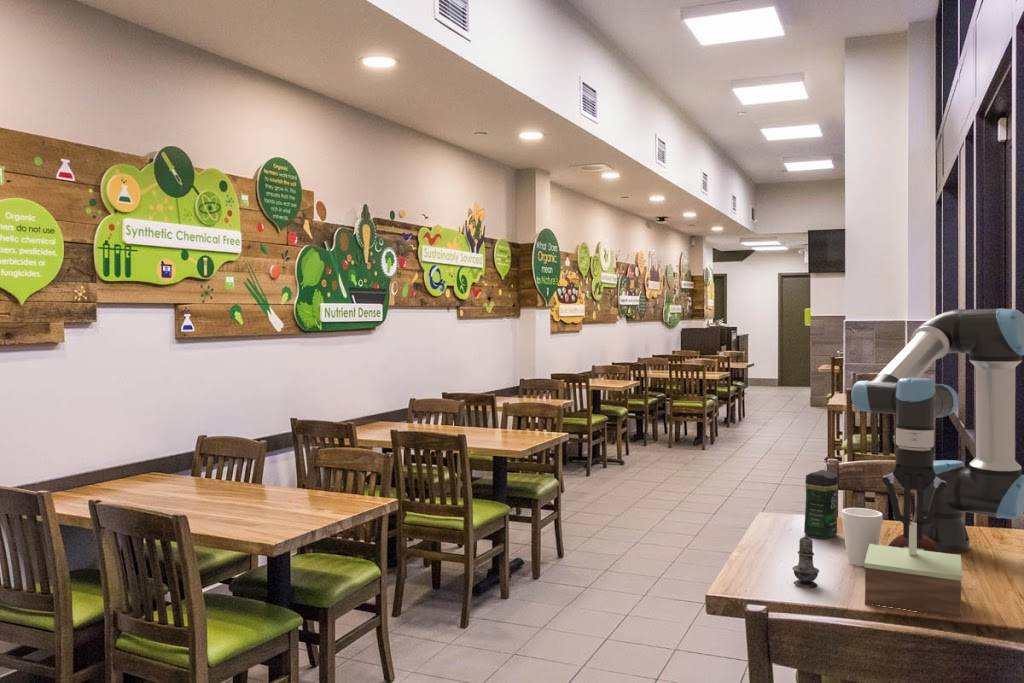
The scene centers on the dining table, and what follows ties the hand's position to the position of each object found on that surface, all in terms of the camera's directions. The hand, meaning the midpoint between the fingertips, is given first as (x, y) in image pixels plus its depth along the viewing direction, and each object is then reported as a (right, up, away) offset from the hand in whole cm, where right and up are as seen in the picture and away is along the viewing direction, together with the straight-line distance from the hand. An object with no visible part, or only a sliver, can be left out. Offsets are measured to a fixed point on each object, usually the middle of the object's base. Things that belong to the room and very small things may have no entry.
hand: (912, 553), depth 174 cm
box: (-1, -10, -3) cm, 10 cm away
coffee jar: (0, -9, +51) cm, 52 cm away
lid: (-1, -2, -2) cm, 3 cm away
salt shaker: (-21, -10, +8) cm, 24 cm away
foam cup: (0, -9, +25) cm, 26 cm away
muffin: (+8, -10, +15) cm, 19 cm away
